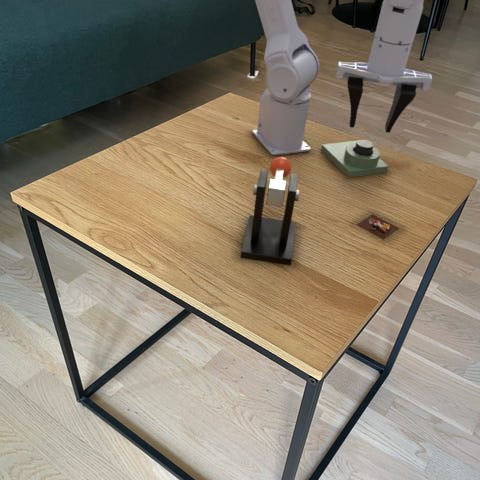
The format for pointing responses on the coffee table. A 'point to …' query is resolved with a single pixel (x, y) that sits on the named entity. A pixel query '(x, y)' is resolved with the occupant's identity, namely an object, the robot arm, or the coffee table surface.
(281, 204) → the lever
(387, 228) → the diorama
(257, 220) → the bracket
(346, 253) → the coffee table surface
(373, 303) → the coffee table surface
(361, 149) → the button
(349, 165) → the control block
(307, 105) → the robot arm
